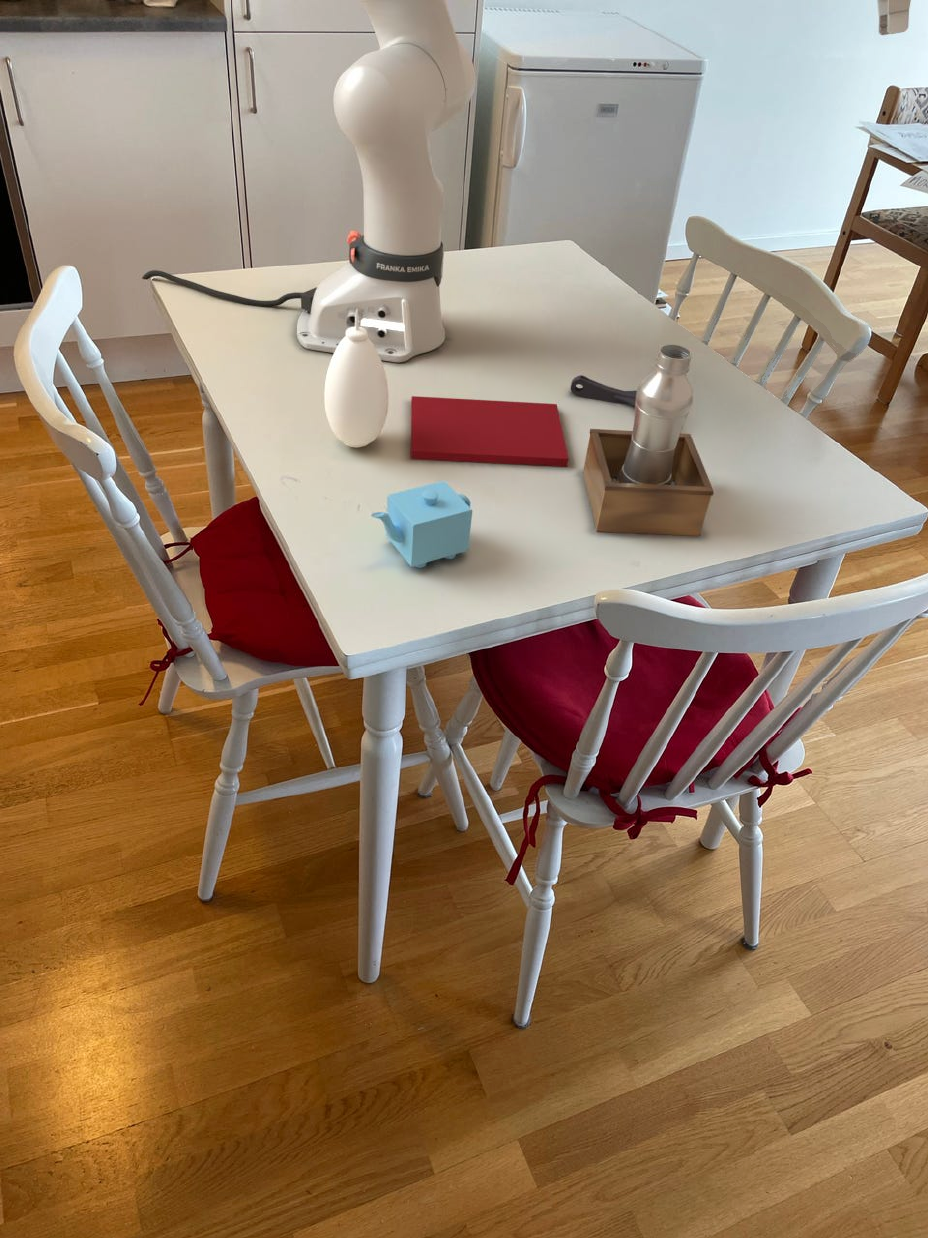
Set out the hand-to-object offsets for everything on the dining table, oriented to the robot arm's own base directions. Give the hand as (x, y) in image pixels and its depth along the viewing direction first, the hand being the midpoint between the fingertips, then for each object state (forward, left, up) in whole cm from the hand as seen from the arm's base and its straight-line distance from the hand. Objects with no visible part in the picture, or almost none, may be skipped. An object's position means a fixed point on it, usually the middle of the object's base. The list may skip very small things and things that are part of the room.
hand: (892, 33), depth 97 cm
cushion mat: (-37, 0, -49) cm, 61 cm away
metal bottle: (-19, -14, -49) cm, 54 cm away
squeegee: (-17, +11, -49) cm, 53 cm away
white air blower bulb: (-54, -4, -49) cm, 73 cm away
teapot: (-46, -26, -49) cm, 72 cm away
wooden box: (-19, -14, -49) cm, 54 cm away
